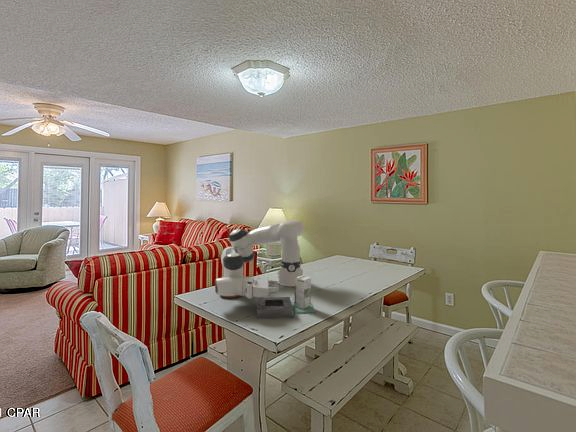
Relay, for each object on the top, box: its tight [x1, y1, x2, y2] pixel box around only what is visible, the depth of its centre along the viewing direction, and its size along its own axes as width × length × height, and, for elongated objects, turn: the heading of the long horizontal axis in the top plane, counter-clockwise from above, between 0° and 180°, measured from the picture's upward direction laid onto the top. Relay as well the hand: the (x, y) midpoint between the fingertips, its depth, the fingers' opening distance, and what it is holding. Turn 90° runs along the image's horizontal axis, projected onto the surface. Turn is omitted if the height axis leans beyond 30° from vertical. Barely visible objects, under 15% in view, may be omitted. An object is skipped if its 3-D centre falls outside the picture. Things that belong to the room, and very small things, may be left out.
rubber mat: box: [291, 301, 316, 314], centre depth 149 cm, size 14×10×1 cm
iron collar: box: [256, 296, 294, 320], centre depth 143 cm, size 16×16×4 cm
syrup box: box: [293, 275, 312, 309], centre depth 148 cm, size 6×6×14 cm
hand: (278, 285), depth 147 cm, fingers open, 8 cm apart
